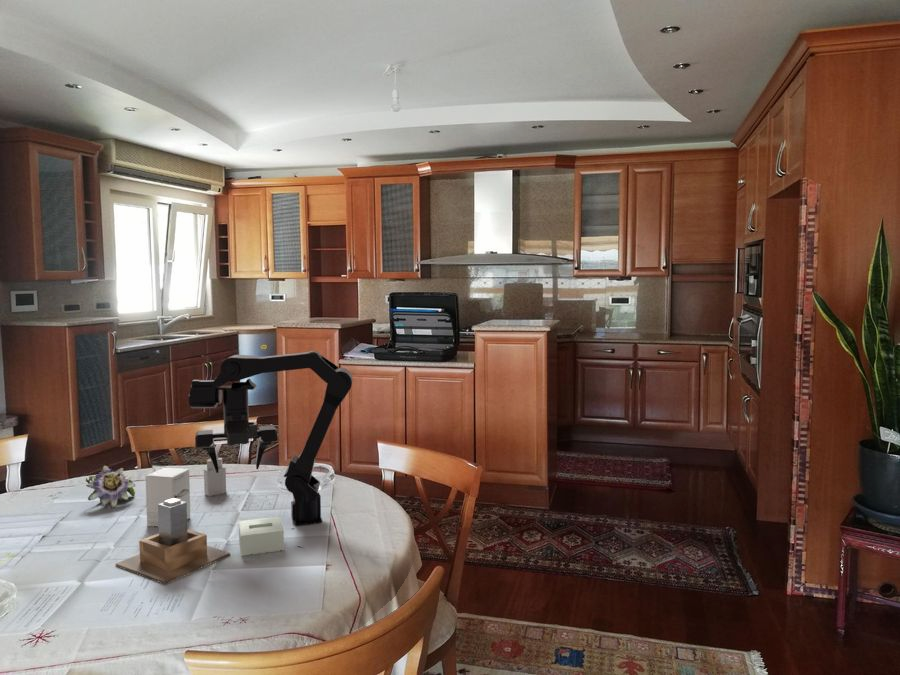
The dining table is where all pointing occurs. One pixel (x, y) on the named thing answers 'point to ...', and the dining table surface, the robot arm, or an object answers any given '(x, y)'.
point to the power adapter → (214, 478)
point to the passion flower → (110, 486)
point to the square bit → (172, 522)
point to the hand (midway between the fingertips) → (237, 470)
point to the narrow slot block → (261, 536)
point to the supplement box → (166, 490)
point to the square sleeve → (172, 557)
